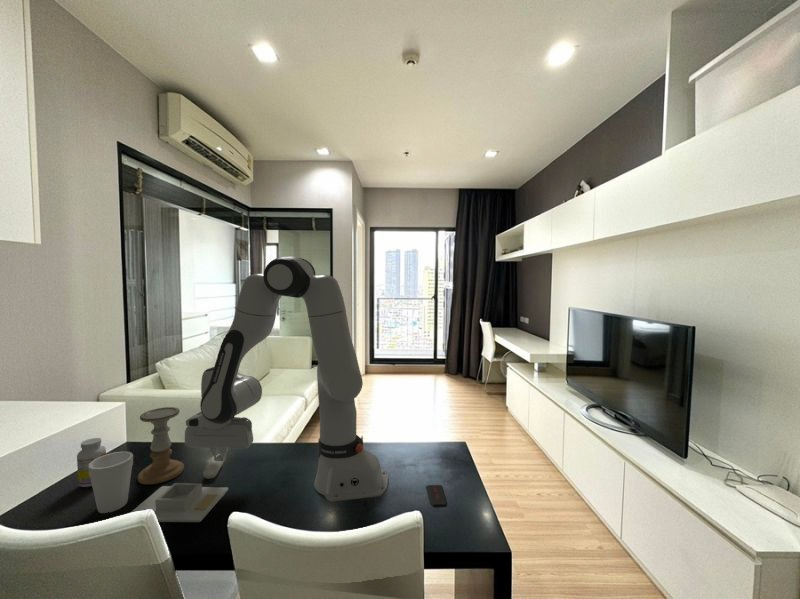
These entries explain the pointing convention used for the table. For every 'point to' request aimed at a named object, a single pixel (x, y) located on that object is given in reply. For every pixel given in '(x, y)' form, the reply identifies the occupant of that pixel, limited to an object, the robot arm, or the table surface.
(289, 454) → the table surface
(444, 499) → the dark rectangular block
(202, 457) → the table surface
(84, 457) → the supplement bottle
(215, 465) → the white capsule
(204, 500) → the board
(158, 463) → the candle holder
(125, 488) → the foam cup
